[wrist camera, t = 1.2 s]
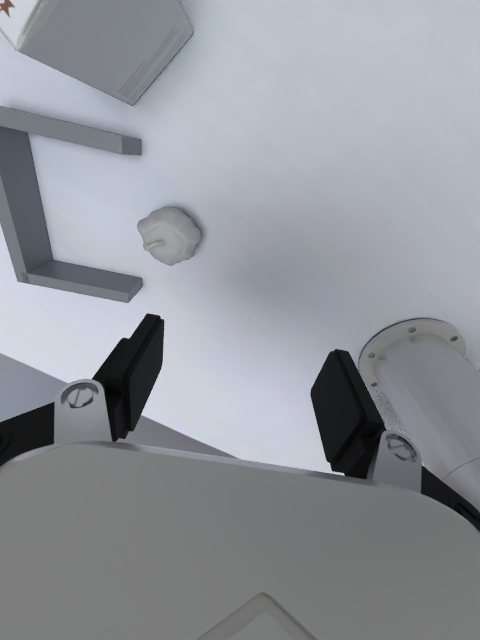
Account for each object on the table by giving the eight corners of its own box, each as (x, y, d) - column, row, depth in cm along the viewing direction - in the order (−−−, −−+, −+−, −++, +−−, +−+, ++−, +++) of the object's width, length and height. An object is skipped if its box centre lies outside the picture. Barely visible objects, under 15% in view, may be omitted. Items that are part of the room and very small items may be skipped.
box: (141, 139, 23) (121, 135, 19) (142, 287, 30) (128, 303, 27) (8, 107, 22) (-37, 98, 18) (44, 267, 30) (17, 281, 26)
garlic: (147, 250, 28) (128, 267, 24) (147, 198, 25) (125, 205, 21) (201, 261, 28) (191, 279, 24) (207, 210, 26) (197, 220, 21)
